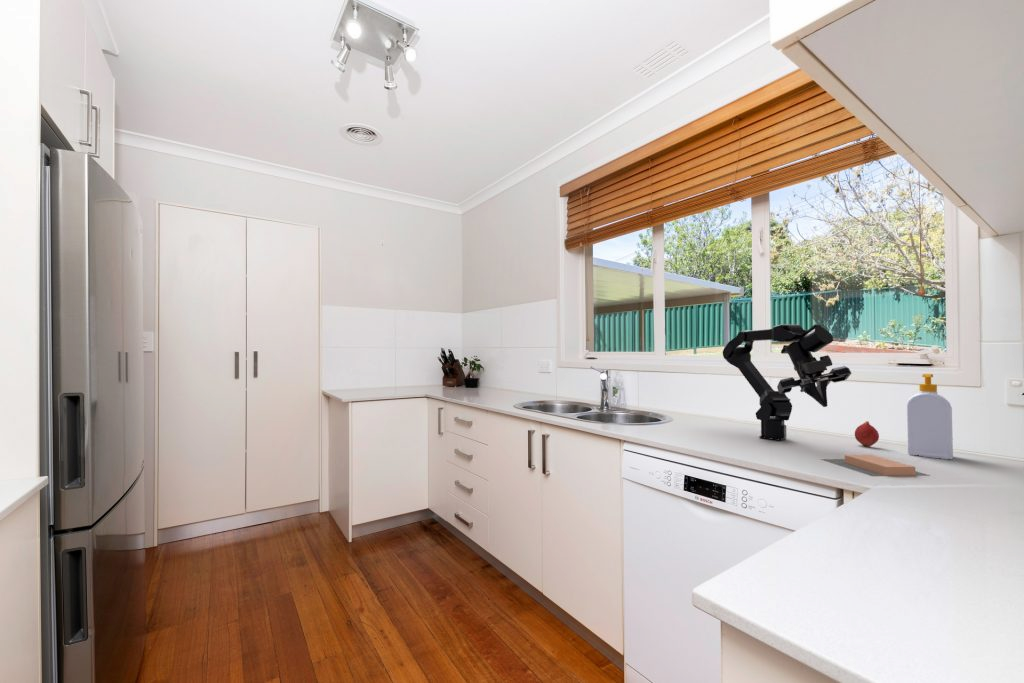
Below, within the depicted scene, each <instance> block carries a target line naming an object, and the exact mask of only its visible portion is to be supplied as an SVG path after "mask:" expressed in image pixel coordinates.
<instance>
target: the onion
mask: <svg viewBox="0 0 1024 683" xmlns="http://www.w3.org/2000/svg"><path fill="white" fill-rule="evenodd" d="M854 437H855V439H856V441H857V442H858V443H859V444H861V445H862V446H864V447H867V448H868V447H869V448H871V446H873V445H875V444H876V443H877V442H878V441H879V440H880V439H879V437H880V433H879V431H878V430H877V428H875V427H874V426H873V425H871V424H870V421H868V420H865V422H864V423H862V424H860V425H858V426H857V427H856V428H855V430H854Z"/></svg>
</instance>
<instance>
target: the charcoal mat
mask: <svg viewBox="0 0 1024 683" xmlns="http://www.w3.org/2000/svg"><path fill="white" fill-rule="evenodd" d="M821 460H822V461H824V462H828V463H831V464H834V465H837V466H840V467H842V468H846V469H849V470H852V471H856V472H858V473H862V474H863V475H868V476H871V477H887V476H886V475H883V474H879V473H876V472H873V471H870V470H866V469H863V468H860V467H857V466H854V465H850V464H847V463H845V458H823V459H822V458H820V461H821ZM911 476H912V477H916V476H917V477H924V476H925V477H927V476H928V477H929V476H931V474H927V473H924V472H921V471H916V470H915V475H908V476H907V477H911Z"/></svg>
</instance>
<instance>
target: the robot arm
mask: <svg viewBox="0 0 1024 683" xmlns="http://www.w3.org/2000/svg"><path fill="white" fill-rule="evenodd" d="M757 341H759V342H760V341H774V342H778V343H789V344H787V345H786V344H784V345H783V347H782V349H781V351H780V353H781V354H785V355H786V354H788V357H789V358H790V361H791V364H793V369H794V371H795V372H796V374H797V375H798V378H799V379H795V378H794V377H787V378H782V379H780V380H779V381H778V384H777V386H776V389H777V390H774V389H773V388H772V386H771V385H770V384H769V383H768V381H767V380H766V379H765V377H764V376H763V375H762V374H761V373H760V371H759V370H758V369H757V367H756V366H755V365H754V363H753V362H752V354H751V352H752V350H753V348H754V346H753V344H754V342H757ZM833 341H834V337H833V334H832V333H831V332H829V331H828V330H827V328H824V327H823V326H822V325H821V324H814V325H812V326H811V327H810V328H809V329H804V328H803V327H802V325H800V324H790V323H789V324H788V323H787V324H786V323H785V324H783V323H782V324H778V325H774V326H773V327H772V328H767V329H756V330H755V329H754V330H741V331H739V332H738V333H737V335H736V336H735V337H733V338H732V339H731V340H729V341H728V342H727V344H726V345H725V347H724V349H723V350H722V356H723V359H725V361H727V363H728V364H730V365H732V366H733V367H735V368H737V369H738V371H740V372H741V375H743V377H744V378H745V380H746V381H747V382H748V383H749V385H750V387H751V388H752V389H753V391H755V393H756V395H758V398H759V406H760V407H759V409H757V411H756V412H755V417H756V420H759V421H760V436H758V437H765V438H772V439H771V440H773V439H779V440H778V441H782V440H781V439H783V440H785V439H784V438H786V439H787V425H786V424H785V421H789V420H790V417H791V414H792V410H793V404H792V403H791V399H790V398H789V397H788V396H787V395H786V393H791V391H792V390H793V388H797V387H799V388H800V392H801V393H805V394H807V395H808V397H811V398H813V400H815V401H816V402H817V403H818V404H819V405H820V406H822V407H823V408H827V407H828V397H827V396H828V395H827V388H828V386H829V384H830V383H834V384H835V383H839V382H844V381H847V380H848V379H849V377H850V376H851V375H852V371H851V369H850V368H849V367H847V366H845V365H842V366H839V367H834V368H831V370H830V371H829V372H828V373H825V371H828V367H831V366H833V361H832V359H831V357H830V356H829V355H828V354H827V355H822V356H819V359H818V360H817V358H816V357H815V356H814V355H813V354H812V353H817V352H819V351H820V350H822V349H823V348H825V347H826V346H828V345H830V344H831V343H833ZM743 343H745V344H744V345H742V344H743ZM765 438H764V439H765Z"/></svg>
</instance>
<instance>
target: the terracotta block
mask: <svg viewBox="0 0 1024 683" xmlns="http://www.w3.org/2000/svg"><path fill="white" fill-rule="evenodd" d="M844 459H845V463H847V464H850V465H854V466H857V467H860V468H863V469H866V470H870V471H873V472H876V473H879V474H883V475H886V476H885V477H909V476H908V475H915V471H916V466H914V465H911V464H907V463H903V462H899V461H895V460H892V459H887V458H884V457H881V456H876V455H873V454H845V455H844Z"/></svg>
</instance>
